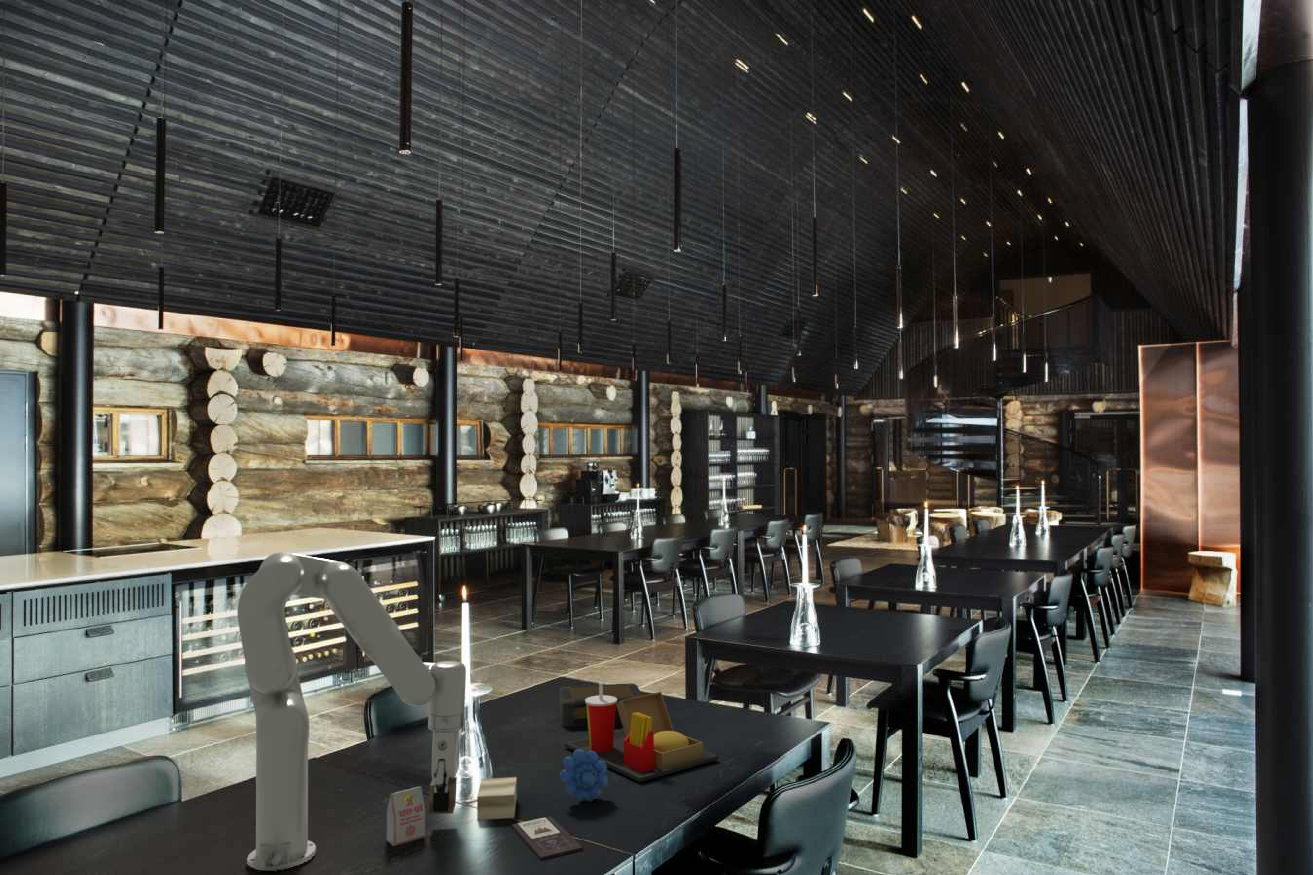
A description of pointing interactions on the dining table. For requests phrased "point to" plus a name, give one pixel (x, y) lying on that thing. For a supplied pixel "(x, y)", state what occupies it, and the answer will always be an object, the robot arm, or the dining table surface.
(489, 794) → the block
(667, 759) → the fast food meal
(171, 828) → the dining table surface
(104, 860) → the dining table surface
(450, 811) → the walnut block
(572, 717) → the cash box
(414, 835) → the white paper bag
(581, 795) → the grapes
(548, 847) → the chocolate bar
